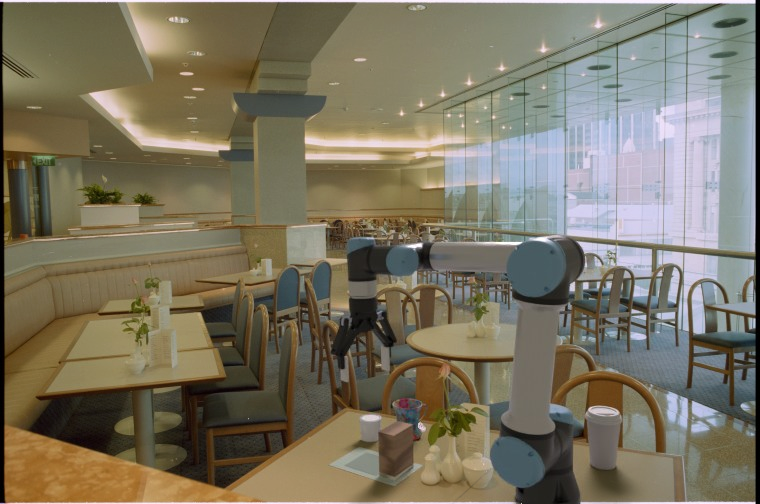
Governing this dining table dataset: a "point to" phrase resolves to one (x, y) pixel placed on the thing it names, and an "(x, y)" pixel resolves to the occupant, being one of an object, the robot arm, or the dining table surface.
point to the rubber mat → (367, 465)
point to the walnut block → (395, 450)
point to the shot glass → (370, 427)
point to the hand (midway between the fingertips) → (365, 375)
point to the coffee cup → (603, 436)
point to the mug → (409, 413)
